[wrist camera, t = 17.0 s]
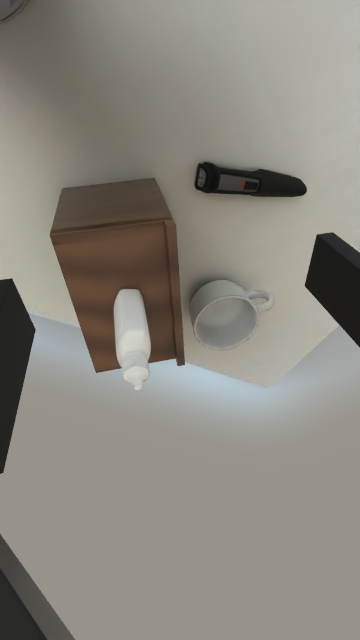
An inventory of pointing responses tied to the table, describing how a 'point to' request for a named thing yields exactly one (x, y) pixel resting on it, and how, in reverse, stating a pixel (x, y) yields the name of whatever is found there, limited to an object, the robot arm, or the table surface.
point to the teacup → (226, 314)
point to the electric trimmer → (247, 182)
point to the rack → (120, 264)
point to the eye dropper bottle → (132, 336)
